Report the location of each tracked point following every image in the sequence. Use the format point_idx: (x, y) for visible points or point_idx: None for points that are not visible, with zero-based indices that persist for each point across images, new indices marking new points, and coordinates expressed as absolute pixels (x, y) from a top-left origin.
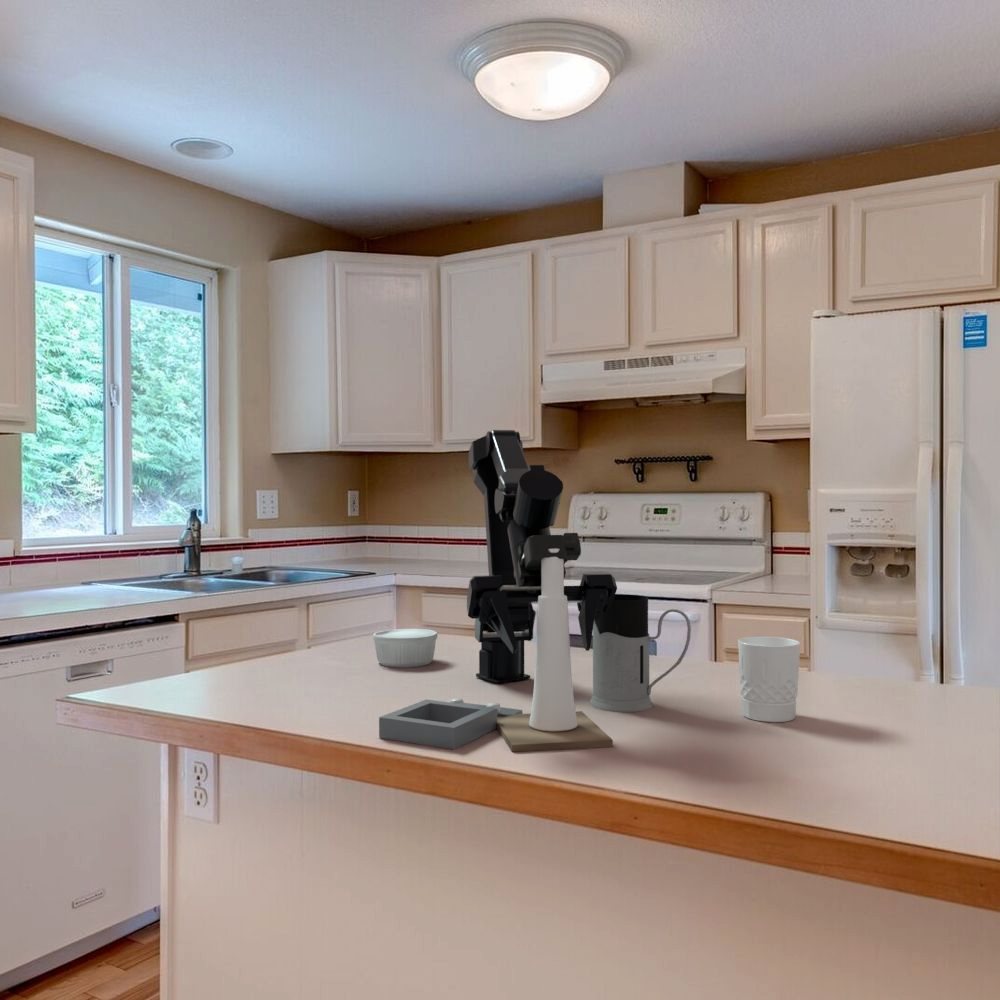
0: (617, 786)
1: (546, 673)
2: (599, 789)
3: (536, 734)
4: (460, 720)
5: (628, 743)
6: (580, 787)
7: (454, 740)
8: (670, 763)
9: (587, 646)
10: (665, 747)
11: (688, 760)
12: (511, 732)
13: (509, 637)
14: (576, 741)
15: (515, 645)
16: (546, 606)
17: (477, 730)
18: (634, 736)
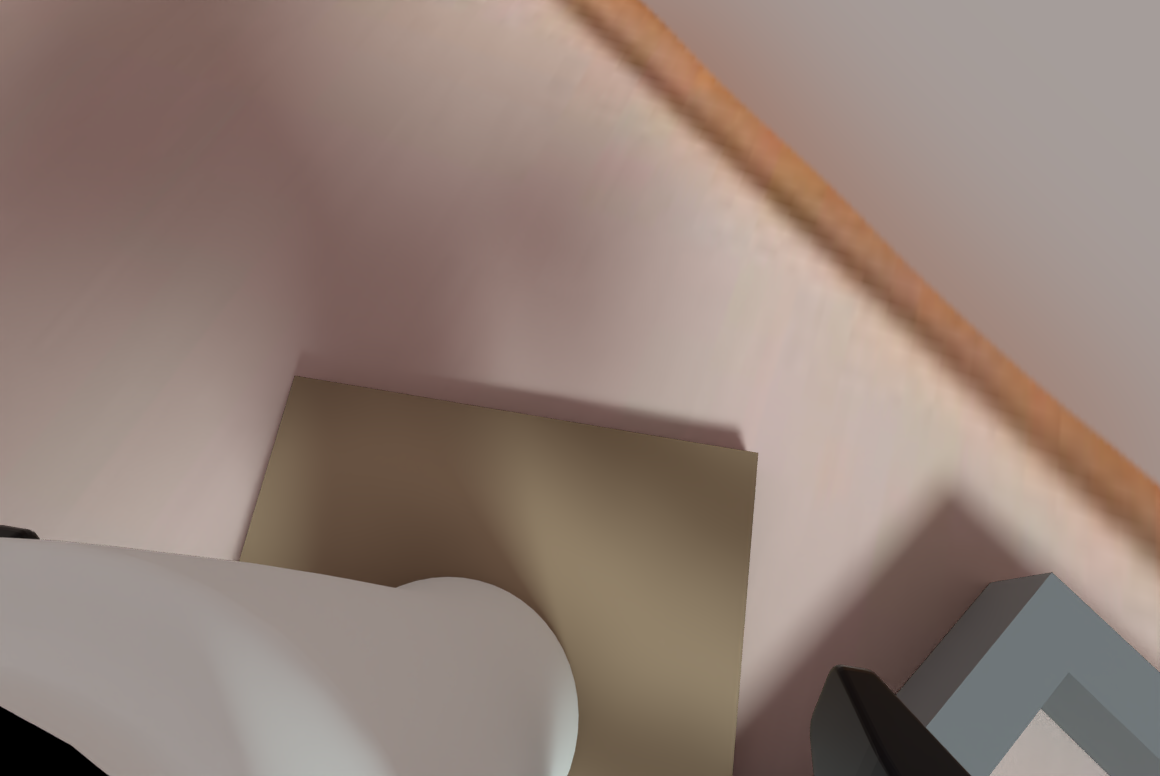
0: (530, 11)
1: (504, 632)
2: (595, 8)
3: (593, 581)
4: (1004, 717)
5: (205, 411)
6: (643, 39)
7: (1010, 581)
8: (224, 133)
9: (36, 534)
10: (96, 306)
11: (137, 139)
12: (702, 661)
13: (957, 767)
14: (463, 404)
15: (854, 680)
16: (403, 681)
17: None
18: (103, 507)
